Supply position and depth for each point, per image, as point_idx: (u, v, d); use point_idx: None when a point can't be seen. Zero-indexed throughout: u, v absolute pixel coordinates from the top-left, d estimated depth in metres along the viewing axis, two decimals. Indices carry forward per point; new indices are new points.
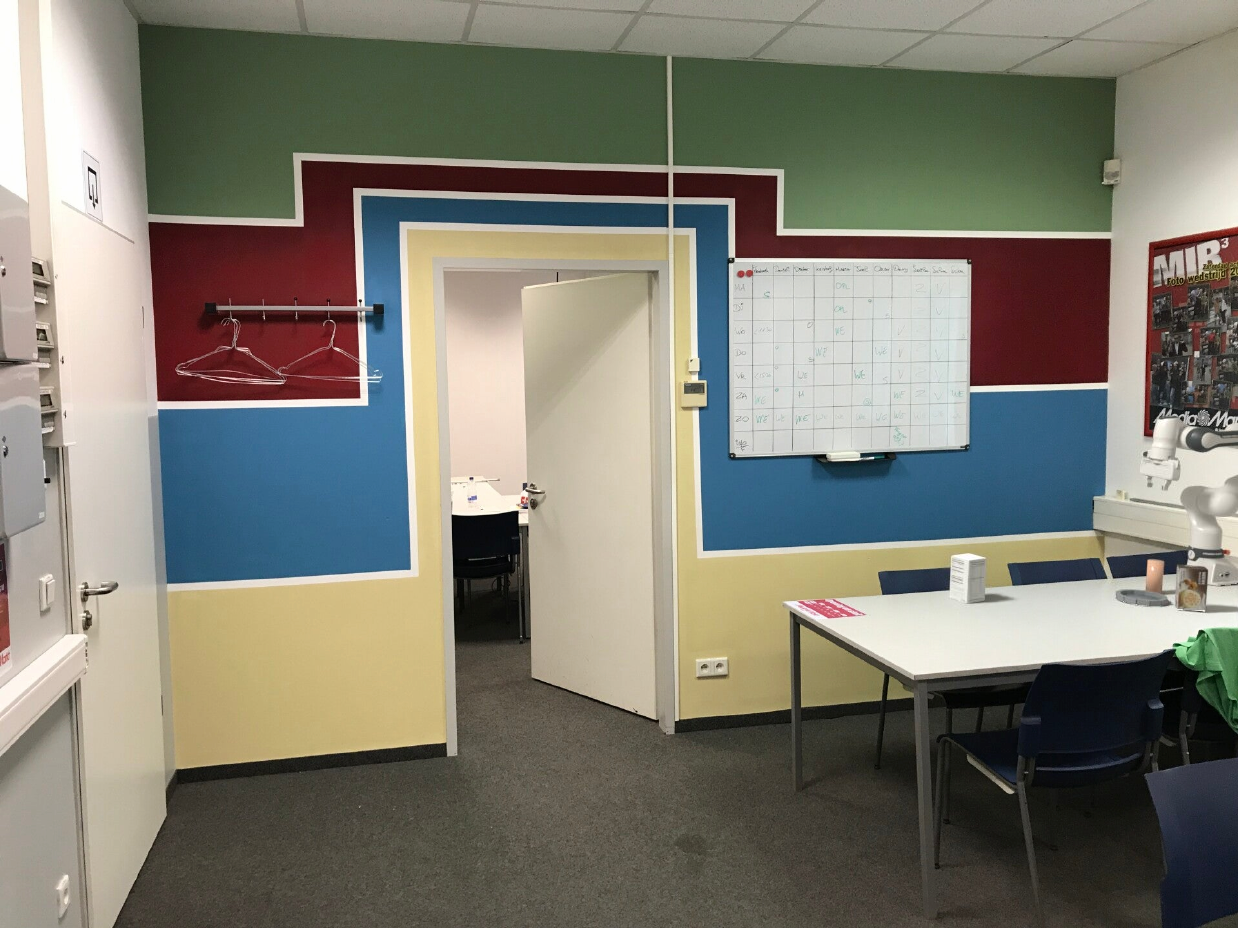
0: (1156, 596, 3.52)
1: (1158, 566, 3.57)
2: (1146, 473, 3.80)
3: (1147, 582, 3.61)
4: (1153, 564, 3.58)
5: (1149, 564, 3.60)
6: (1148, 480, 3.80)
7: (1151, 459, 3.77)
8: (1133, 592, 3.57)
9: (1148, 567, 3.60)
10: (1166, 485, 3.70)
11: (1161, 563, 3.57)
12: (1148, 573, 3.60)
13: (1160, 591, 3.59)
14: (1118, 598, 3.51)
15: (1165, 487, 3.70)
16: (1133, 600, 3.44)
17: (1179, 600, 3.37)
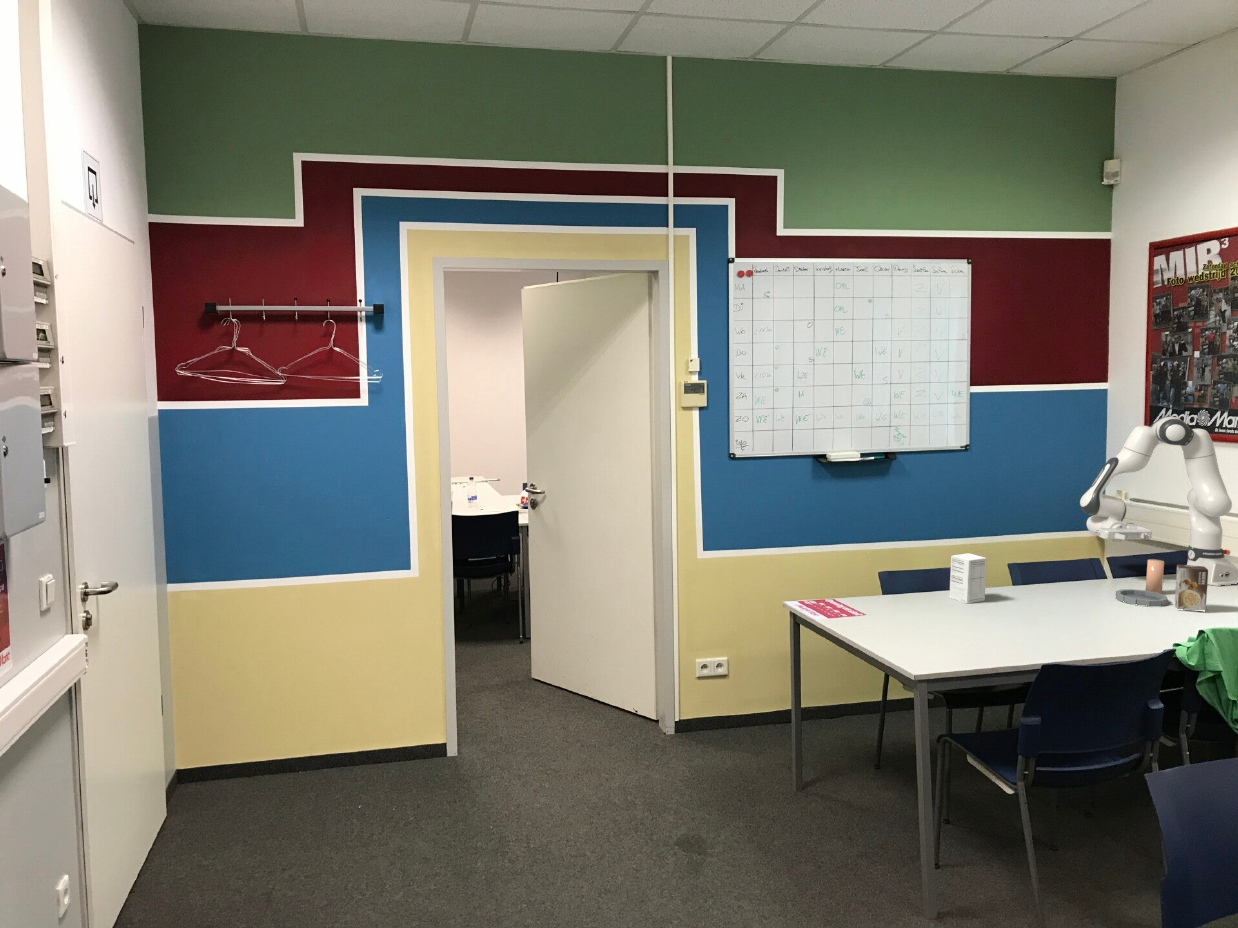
0: (1156, 596, 3.52)
1: (1158, 566, 3.57)
2: None
3: (1147, 582, 3.61)
4: (1153, 564, 3.58)
5: (1149, 564, 3.60)
6: None
7: None
8: (1133, 592, 3.57)
9: (1148, 567, 3.60)
10: (1120, 537, 3.73)
11: (1161, 563, 3.57)
12: (1148, 573, 3.60)
13: (1160, 591, 3.59)
14: (1118, 598, 3.51)
15: (1122, 537, 3.72)
16: (1133, 600, 3.44)
17: (1179, 600, 3.37)
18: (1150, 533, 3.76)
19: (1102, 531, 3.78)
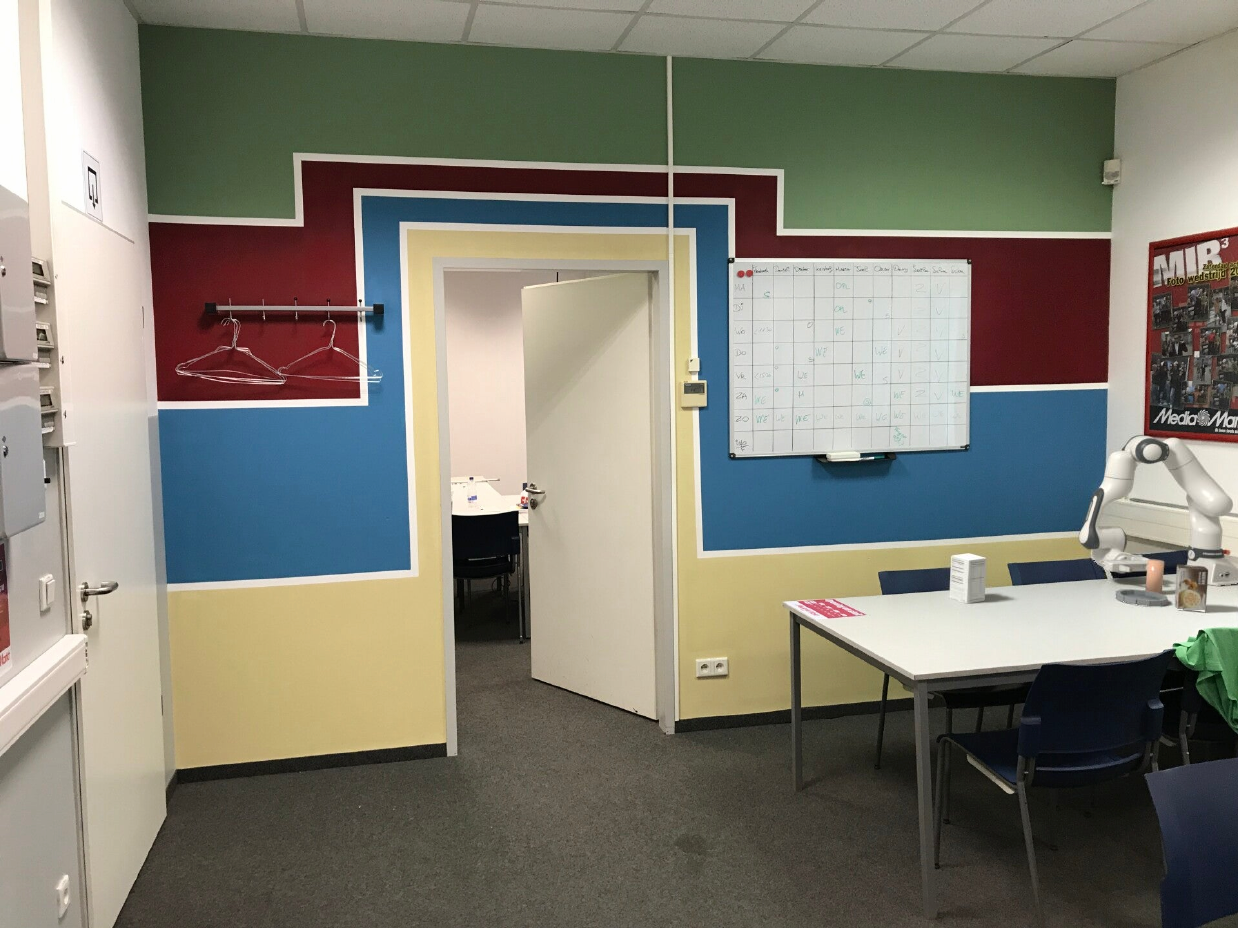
0: (1156, 596, 3.52)
1: (1158, 566, 3.57)
2: (1145, 570, 3.74)
3: (1147, 582, 3.61)
4: (1153, 564, 3.58)
5: (1149, 564, 3.60)
6: None
7: None
8: (1133, 592, 3.57)
9: (1148, 567, 3.60)
10: (1124, 569, 3.70)
11: (1161, 563, 3.57)
12: (1148, 573, 3.60)
13: (1160, 591, 3.59)
14: (1118, 598, 3.51)
15: (1126, 570, 3.69)
16: (1133, 600, 3.44)
17: (1179, 600, 3.37)
18: None
19: (1106, 563, 3.75)
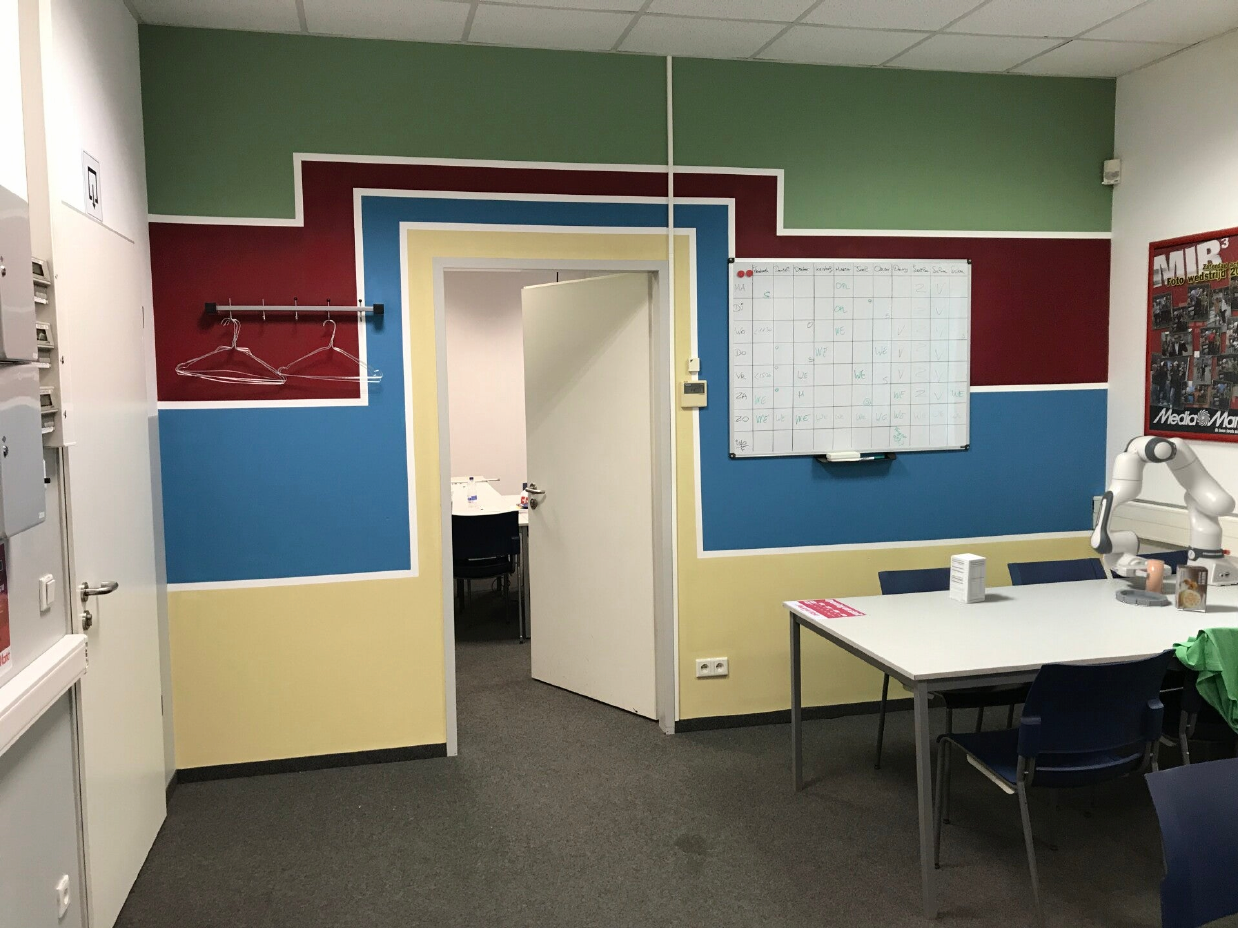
0: (1156, 596, 3.52)
1: (1158, 566, 3.57)
2: None
3: (1147, 582, 3.61)
4: (1153, 564, 3.58)
5: (1149, 564, 3.59)
6: None
7: None
8: (1133, 592, 3.57)
9: (1148, 567, 3.60)
10: (1141, 574, 3.61)
11: (1161, 563, 3.57)
12: None
13: (1160, 591, 3.59)
14: (1118, 598, 3.51)
15: (1143, 575, 3.61)
16: (1133, 600, 3.44)
17: (1179, 600, 3.37)
18: (1169, 569, 3.65)
19: (1120, 568, 3.66)
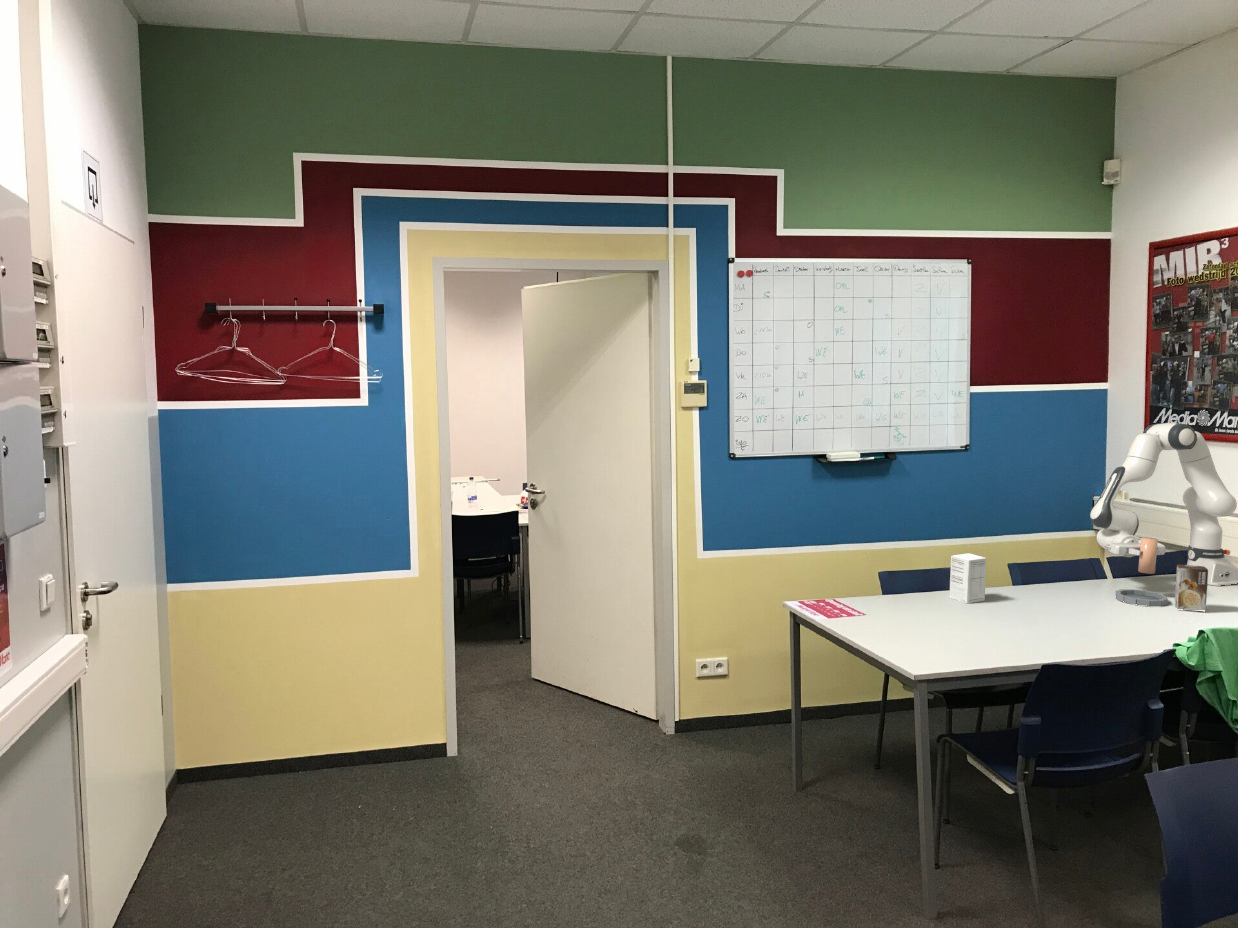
0: (1156, 596, 3.52)
1: (1151, 544, 3.51)
2: None
3: (1140, 560, 3.54)
4: (1146, 542, 3.51)
5: (1142, 542, 3.53)
6: None
7: None
8: (1133, 592, 3.57)
9: (1141, 545, 3.54)
10: (1134, 552, 3.55)
11: (1155, 541, 3.51)
12: None
13: (1153, 570, 3.52)
14: (1118, 598, 3.51)
15: (1136, 553, 3.54)
16: (1133, 600, 3.44)
17: (1179, 600, 3.37)
18: (1163, 548, 3.58)
19: (1113, 546, 3.60)
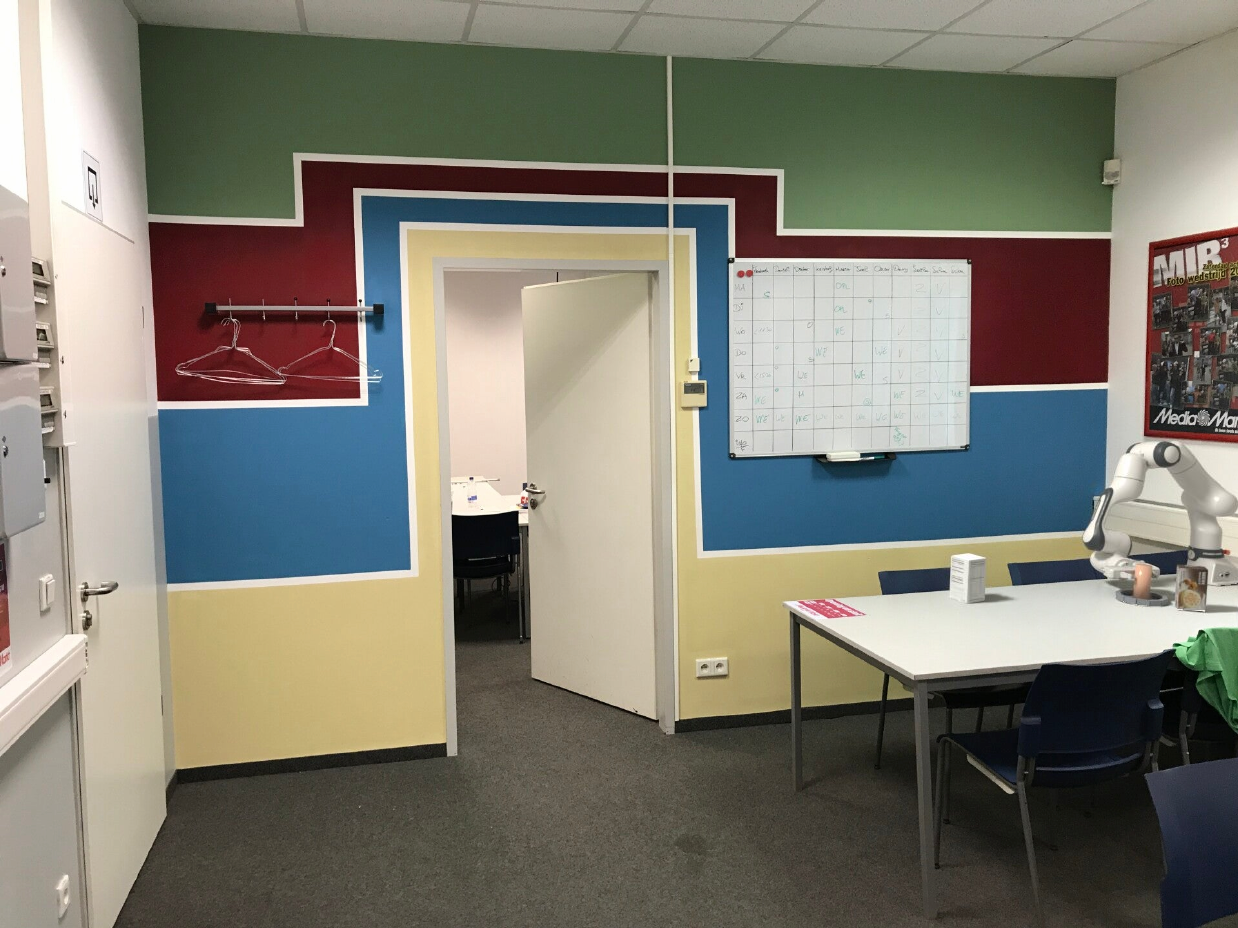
0: (1156, 596, 3.52)
1: (1146, 571, 3.46)
2: None
3: (1135, 587, 3.50)
4: (1141, 569, 3.47)
5: (1137, 569, 3.49)
6: None
7: None
8: None
9: (1136, 572, 3.49)
10: (1126, 576, 3.50)
11: (1149, 568, 3.46)
12: (1135, 578, 3.49)
13: (1148, 597, 3.48)
14: (1118, 598, 3.51)
15: (1128, 576, 3.49)
16: (1133, 600, 3.44)
17: (1179, 600, 3.37)
18: (1158, 571, 3.54)
19: (1107, 569, 3.55)
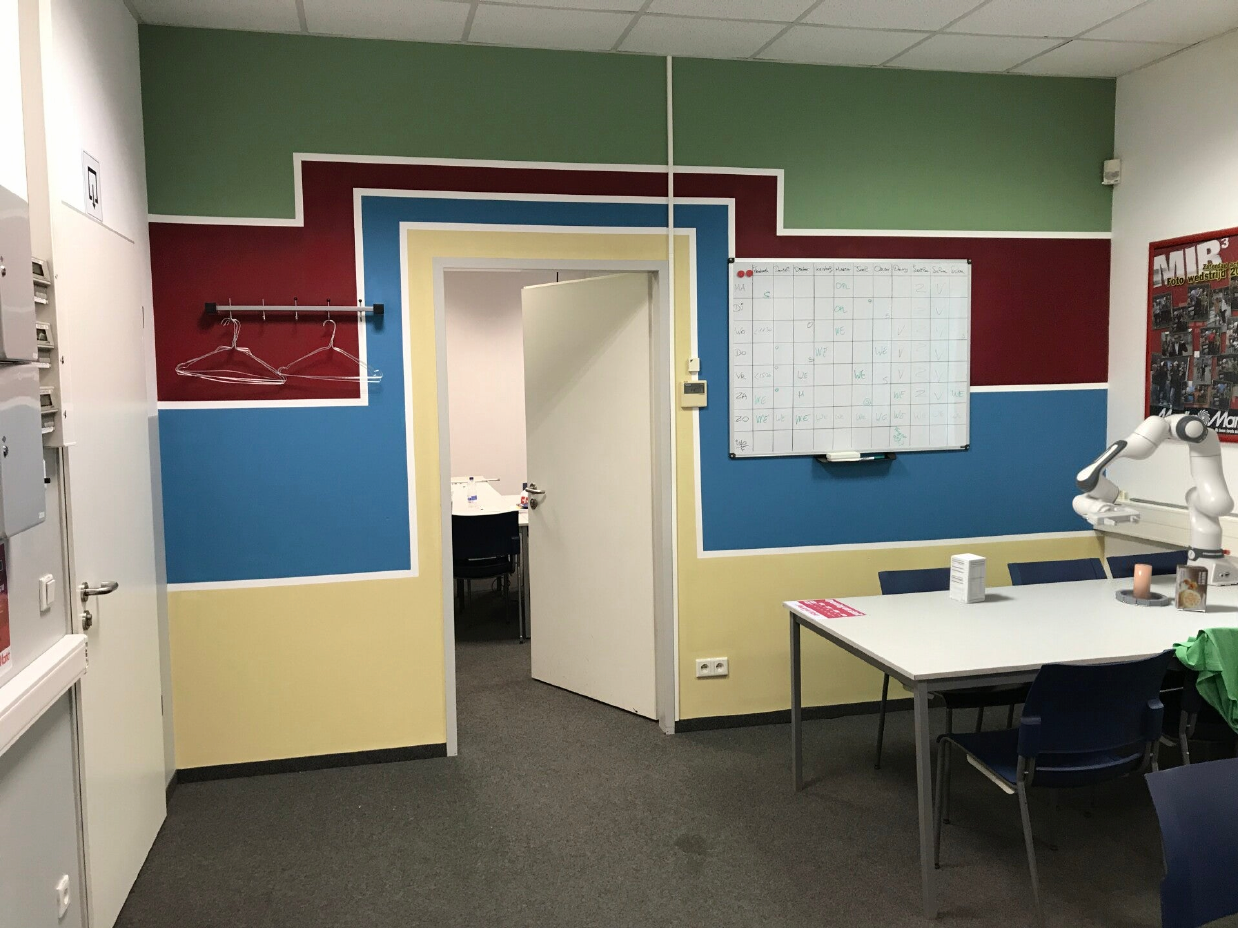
0: (1156, 596, 3.52)
1: (1145, 571, 3.46)
2: None
3: (1134, 587, 3.50)
4: (1140, 569, 3.47)
5: (1136, 569, 3.49)
6: None
7: None
8: None
9: (1135, 572, 3.49)
10: (1109, 523, 3.63)
11: (1149, 568, 3.46)
12: (1135, 578, 3.49)
13: (1148, 597, 3.48)
14: (1118, 598, 3.51)
15: (1111, 523, 3.62)
16: (1133, 600, 3.44)
17: (1179, 600, 3.37)
18: (1139, 515, 3.67)
19: (1091, 516, 3.68)
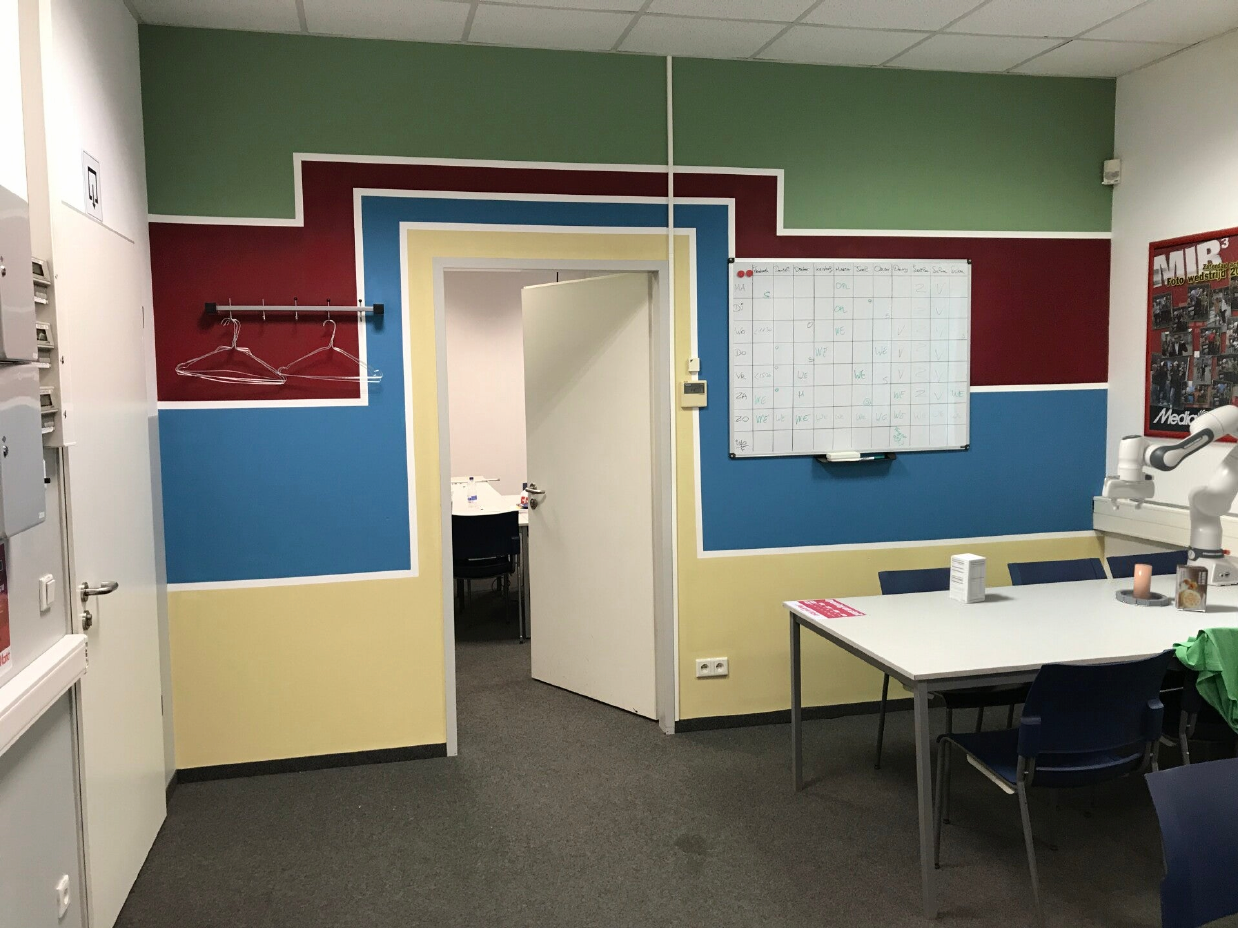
0: (1156, 596, 3.52)
1: (1146, 571, 3.46)
2: None
3: (1134, 587, 3.50)
4: (1141, 569, 3.47)
5: (1136, 569, 3.49)
6: (1139, 502, 3.72)
7: None
8: None
9: (1135, 572, 3.49)
10: (1113, 504, 3.71)
11: (1149, 568, 3.46)
12: (1135, 578, 3.49)
13: (1148, 597, 3.48)
14: (1118, 598, 3.51)
15: (1113, 506, 3.71)
16: (1133, 600, 3.44)
17: (1179, 600, 3.37)
18: None
19: (1106, 491, 3.68)
